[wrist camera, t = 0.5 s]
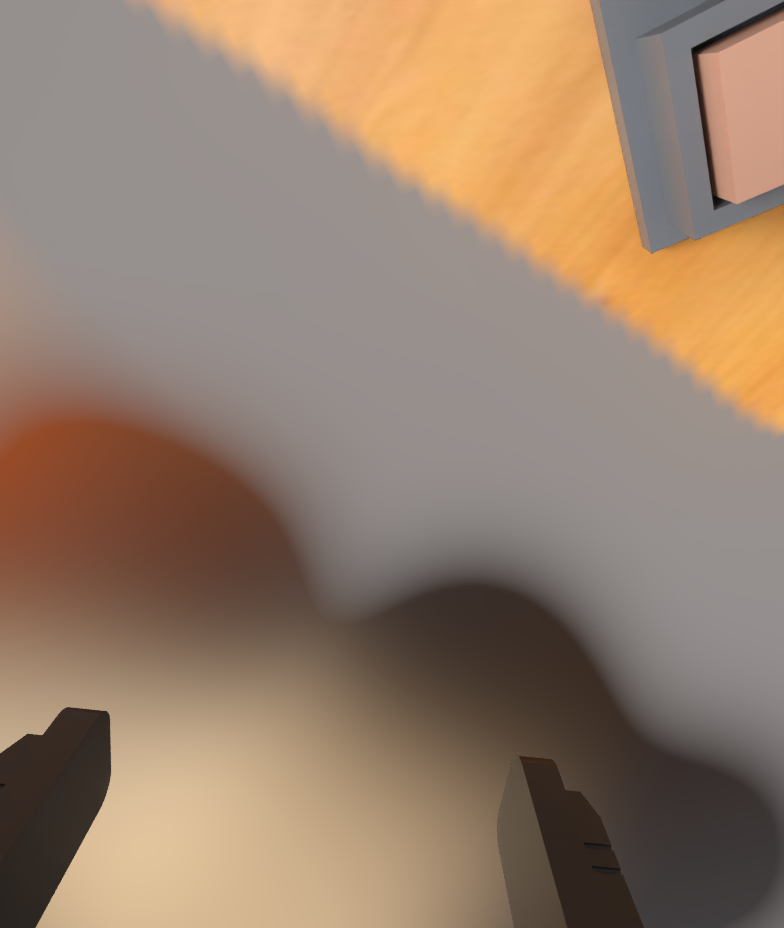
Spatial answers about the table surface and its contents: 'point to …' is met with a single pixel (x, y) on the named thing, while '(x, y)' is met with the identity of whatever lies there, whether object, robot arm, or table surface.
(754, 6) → the key console
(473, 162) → the table surface
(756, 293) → the table surface
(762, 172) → the terracotta key
